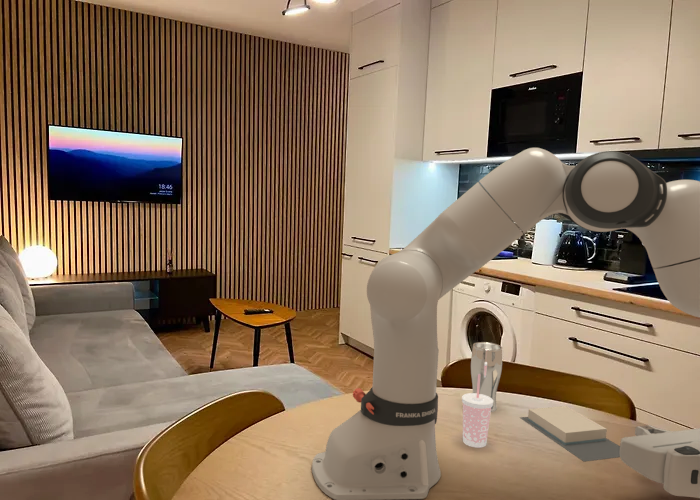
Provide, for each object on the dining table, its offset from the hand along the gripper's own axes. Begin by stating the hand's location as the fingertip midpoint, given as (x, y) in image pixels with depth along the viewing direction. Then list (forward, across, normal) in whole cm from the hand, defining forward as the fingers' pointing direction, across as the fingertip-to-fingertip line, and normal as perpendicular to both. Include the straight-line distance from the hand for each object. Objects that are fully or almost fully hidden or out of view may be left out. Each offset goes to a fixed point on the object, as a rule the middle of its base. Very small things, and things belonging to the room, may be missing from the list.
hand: (641, 429), depth 92 cm
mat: (+16, 0, +9) cm, 18 cm away
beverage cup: (+18, +22, +9) cm, 30 cm away
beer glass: (+33, +11, +9) cm, 36 cm away
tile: (+13, 0, +7) cm, 14 cm away
